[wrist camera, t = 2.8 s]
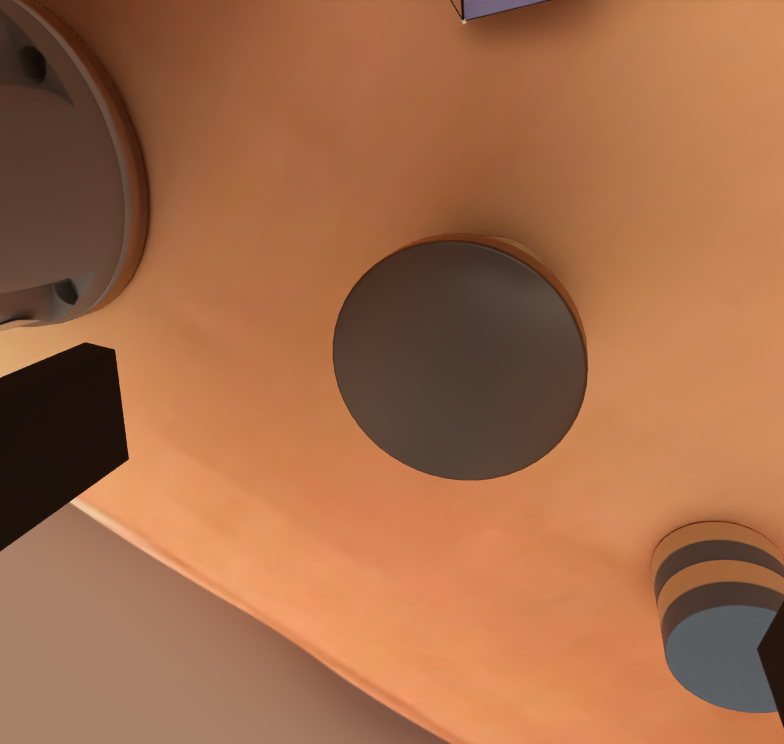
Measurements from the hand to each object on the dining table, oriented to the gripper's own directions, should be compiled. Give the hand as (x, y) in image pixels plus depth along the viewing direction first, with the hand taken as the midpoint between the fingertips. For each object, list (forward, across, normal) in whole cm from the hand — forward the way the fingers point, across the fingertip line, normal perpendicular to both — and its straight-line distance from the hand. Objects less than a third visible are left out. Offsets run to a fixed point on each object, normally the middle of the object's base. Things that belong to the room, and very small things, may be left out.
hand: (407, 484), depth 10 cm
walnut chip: (+7, 0, 0) cm, 7 cm away
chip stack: (+14, +12, -10) cm, 21 cm away
